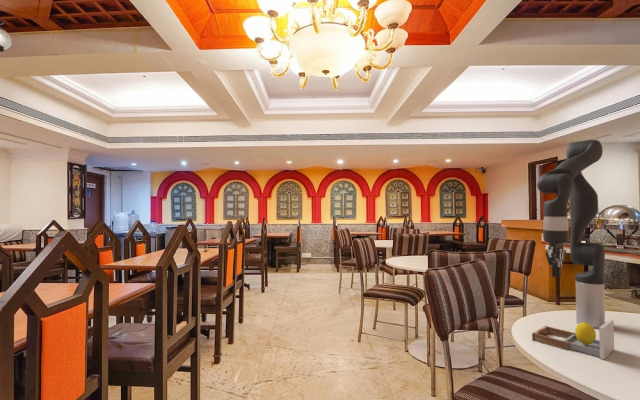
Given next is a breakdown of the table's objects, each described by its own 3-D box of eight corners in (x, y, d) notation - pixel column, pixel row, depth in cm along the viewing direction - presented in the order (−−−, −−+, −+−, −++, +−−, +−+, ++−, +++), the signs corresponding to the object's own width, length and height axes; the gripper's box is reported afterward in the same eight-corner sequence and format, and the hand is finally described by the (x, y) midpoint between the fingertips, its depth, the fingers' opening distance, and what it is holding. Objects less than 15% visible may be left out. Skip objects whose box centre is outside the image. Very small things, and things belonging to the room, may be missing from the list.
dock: (545, 332, 131) (545, 325, 131) (580, 341, 122) (580, 334, 122) (532, 340, 123) (532, 333, 123) (568, 350, 114) (568, 343, 114)
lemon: (599, 349, 112) (599, 325, 112) (580, 348, 113) (580, 324, 114) (590, 343, 118) (589, 319, 118) (572, 341, 119) (571, 318, 119)
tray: (574, 338, 123) (573, 311, 123) (614, 349, 114) (613, 319, 115) (562, 347, 116) (561, 318, 116) (603, 359, 107) (603, 328, 107)
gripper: (561, 230, 116) (562, 281, 115) (574, 228, 124) (575, 276, 124) (536, 229, 122) (537, 277, 121) (550, 227, 130) (551, 273, 129)
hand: (556, 276), depth 122 cm, fingers closed
